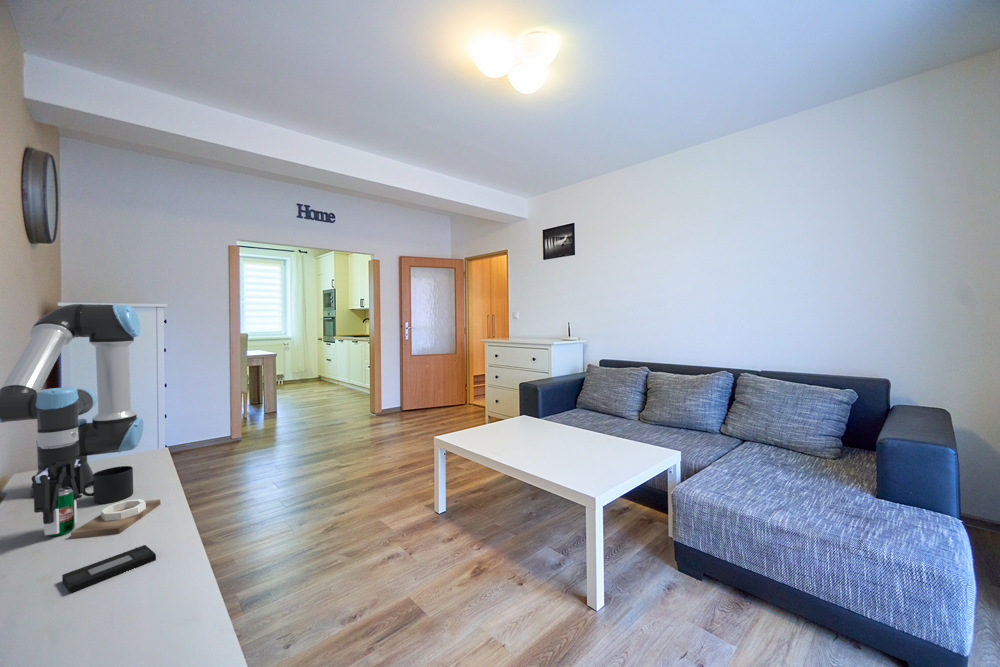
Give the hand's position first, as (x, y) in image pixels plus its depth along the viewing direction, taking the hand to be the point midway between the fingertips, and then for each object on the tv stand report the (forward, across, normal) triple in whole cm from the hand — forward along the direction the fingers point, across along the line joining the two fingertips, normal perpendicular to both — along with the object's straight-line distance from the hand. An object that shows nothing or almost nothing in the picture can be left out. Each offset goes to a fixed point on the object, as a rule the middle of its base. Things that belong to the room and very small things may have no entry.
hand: (61, 528), depth 108 cm
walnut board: (+1, +5, -10) cm, 12 cm away
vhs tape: (+2, -23, -26) cm, 35 cm away
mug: (+1, +22, +3) cm, 22 cm away
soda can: (+1, 0, 0) cm, 1 cm away
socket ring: (0, +6, -11) cm, 13 cm away
